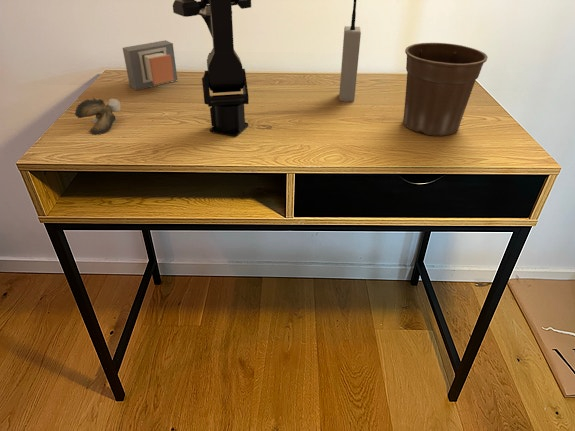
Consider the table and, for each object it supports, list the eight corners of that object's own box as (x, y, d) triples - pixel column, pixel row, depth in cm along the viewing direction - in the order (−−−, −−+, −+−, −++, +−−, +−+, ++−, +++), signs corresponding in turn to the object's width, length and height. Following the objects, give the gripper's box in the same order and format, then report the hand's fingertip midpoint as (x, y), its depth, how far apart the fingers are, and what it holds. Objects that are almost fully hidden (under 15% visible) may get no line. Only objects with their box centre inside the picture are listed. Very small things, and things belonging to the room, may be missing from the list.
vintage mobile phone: (353, 95, 119) (363, -12, 104) (354, 102, 114) (364, -8, 100) (339, 94, 119) (347, -13, 104) (339, 101, 115) (347, -9, 100)
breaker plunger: (174, 80, 120) (170, 55, 116) (154, 84, 117) (150, 59, 113) (156, 70, 126) (153, 46, 123) (138, 74, 123) (133, 50, 120)
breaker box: (178, 81, 126) (173, 43, 120) (136, 90, 119) (129, 51, 114) (170, 77, 128) (165, 40, 123) (129, 86, 122) (122, 47, 116)
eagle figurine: (86, 112, 104) (67, 121, 96) (99, 86, 102) (81, 93, 94) (116, 131, 106) (100, 141, 98) (130, 105, 103) (115, 114, 95)
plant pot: (439, 107, 112) (453, 39, 103) (484, 134, 100) (505, 59, 90) (381, 116, 107) (390, 45, 98) (421, 145, 95) (436, 67, 86)
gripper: (225, -36, 116) (229, 29, 125) (157, -30, 106) (166, 40, 115) (251, -31, 109) (253, 38, 118) (180, -24, 99) (188, 50, 108)
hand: (216, 41), depth 115 cm, fingers closed
